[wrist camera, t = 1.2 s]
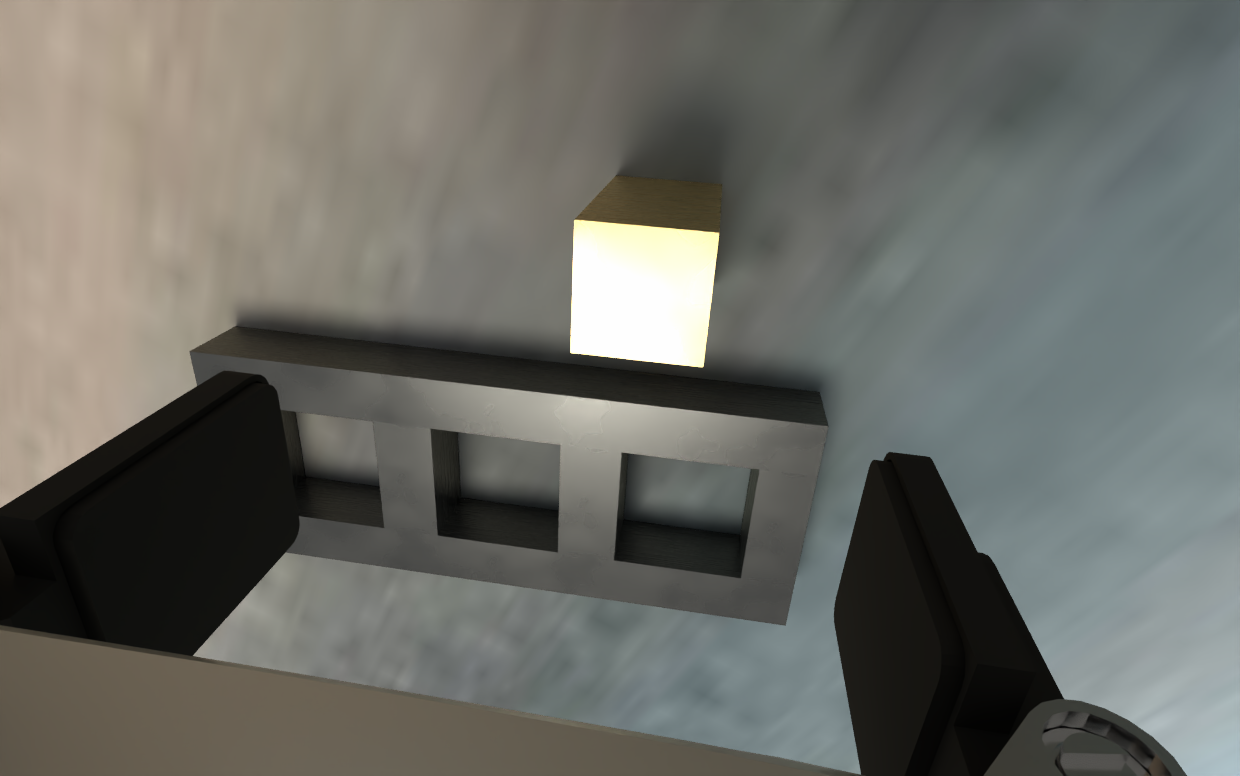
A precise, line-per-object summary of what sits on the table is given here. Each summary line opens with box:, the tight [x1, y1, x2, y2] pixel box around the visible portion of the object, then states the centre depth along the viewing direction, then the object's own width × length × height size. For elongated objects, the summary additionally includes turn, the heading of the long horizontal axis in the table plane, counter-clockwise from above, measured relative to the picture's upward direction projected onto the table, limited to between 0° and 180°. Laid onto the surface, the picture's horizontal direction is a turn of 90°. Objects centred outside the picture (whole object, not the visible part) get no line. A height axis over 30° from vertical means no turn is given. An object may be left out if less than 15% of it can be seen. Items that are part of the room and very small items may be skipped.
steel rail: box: [190, 326, 828, 626], centre depth 31 cm, size 26×10×3 cm, turn 87°
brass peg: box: [570, 175, 722, 367], centre depth 24 cm, size 4×4×8 cm
